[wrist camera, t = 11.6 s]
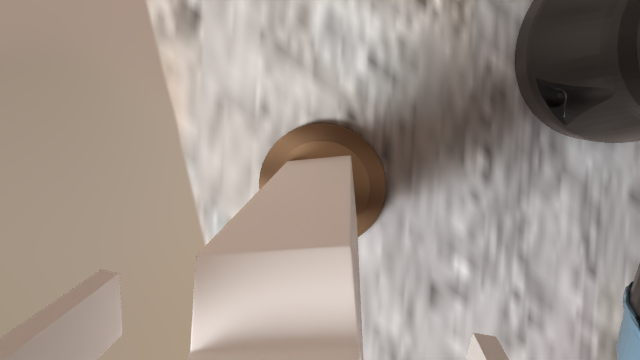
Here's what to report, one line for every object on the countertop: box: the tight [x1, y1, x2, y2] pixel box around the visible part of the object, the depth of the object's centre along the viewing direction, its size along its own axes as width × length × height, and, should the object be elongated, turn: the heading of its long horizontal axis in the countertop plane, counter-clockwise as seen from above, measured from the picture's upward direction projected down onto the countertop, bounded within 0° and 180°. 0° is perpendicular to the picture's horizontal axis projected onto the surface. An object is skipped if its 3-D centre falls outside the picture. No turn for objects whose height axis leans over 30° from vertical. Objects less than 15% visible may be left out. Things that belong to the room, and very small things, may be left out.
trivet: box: [259, 123, 386, 237], centre depth 32 cm, size 12×12×1 cm
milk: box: [186, 155, 363, 360], centre depth 20 cm, size 6×6×22 cm
